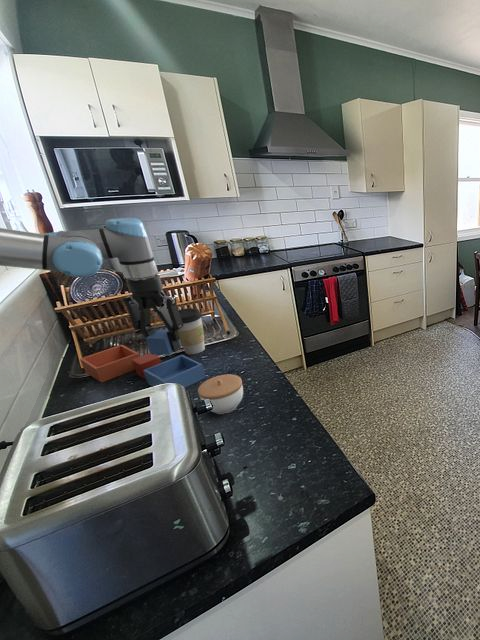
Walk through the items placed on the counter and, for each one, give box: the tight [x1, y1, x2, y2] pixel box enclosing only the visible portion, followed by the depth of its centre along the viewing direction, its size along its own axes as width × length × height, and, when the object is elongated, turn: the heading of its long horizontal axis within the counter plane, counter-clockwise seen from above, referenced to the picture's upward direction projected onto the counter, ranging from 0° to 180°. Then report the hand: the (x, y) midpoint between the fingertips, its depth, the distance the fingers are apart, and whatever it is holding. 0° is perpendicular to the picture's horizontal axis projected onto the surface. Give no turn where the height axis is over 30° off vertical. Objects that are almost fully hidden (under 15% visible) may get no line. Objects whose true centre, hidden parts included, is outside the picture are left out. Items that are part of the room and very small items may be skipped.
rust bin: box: [79, 344, 141, 383], centre depth 114 cm, size 11×11×5 cm
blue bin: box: [143, 354, 207, 388], centre depth 109 cm, size 11×11×5 cm
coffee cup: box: [178, 307, 206, 355], centre depth 125 cm, size 10×10×15 cm
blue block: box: [145, 329, 182, 356], centre depth 104 cm, size 6×6×6 cm
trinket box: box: [197, 373, 244, 415], centre depth 97 cm, size 11×11×9 cm
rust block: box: [132, 352, 162, 380], centre depth 112 cm, size 6×6×6 cm
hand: (166, 349), depth 105 cm, fingers closed on blue block, 5 cm apart
